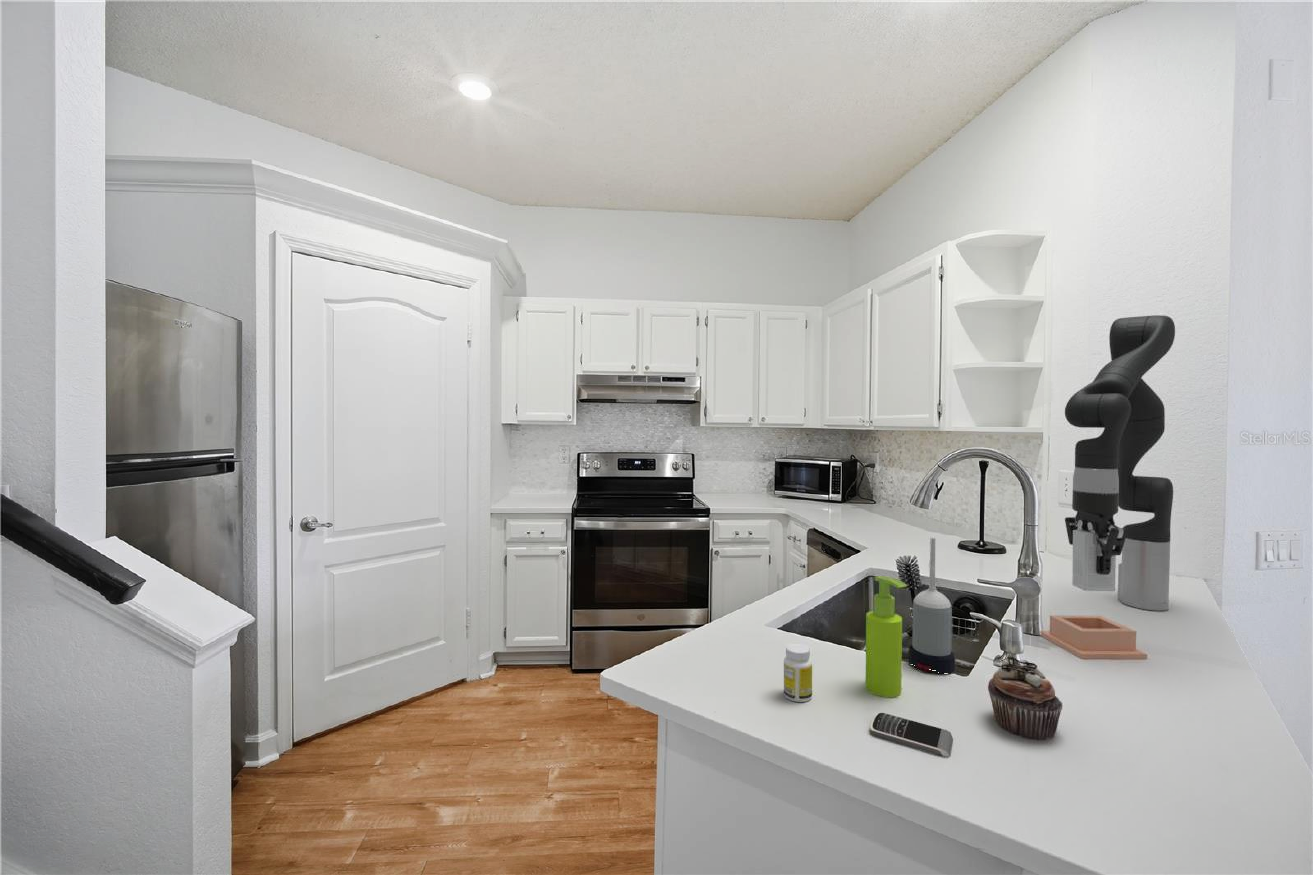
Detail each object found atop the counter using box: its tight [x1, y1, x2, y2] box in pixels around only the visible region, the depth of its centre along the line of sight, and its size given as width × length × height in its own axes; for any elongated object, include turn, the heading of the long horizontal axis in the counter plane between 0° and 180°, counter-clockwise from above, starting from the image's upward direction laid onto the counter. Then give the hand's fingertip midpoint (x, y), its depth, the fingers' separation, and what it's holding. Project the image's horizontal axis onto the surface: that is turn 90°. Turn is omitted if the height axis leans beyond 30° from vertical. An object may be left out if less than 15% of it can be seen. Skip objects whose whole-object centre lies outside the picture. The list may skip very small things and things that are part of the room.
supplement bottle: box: [783, 643, 813, 703], centre depth 95 cm, size 5×5×8 cm
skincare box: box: [1071, 530, 1117, 592], centre depth 115 cm, size 6×4×12 cm
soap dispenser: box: [864, 575, 908, 698], centre depth 96 cm, size 6×7×20 cm
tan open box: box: [1039, 615, 1148, 660], centre depth 115 cm, size 12×13×5 cm
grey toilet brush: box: [907, 537, 956, 676], centre depth 106 cm, size 8×8×25 cm
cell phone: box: [869, 712, 954, 758], centre depth 83 cm, size 6×11×1 cm, turn 57°
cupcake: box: [987, 656, 1063, 741], centre depth 86 cm, size 10×10×10 cm
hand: (1093, 570), depth 115 cm, fingers closed on skincare box, 4 cm apart
